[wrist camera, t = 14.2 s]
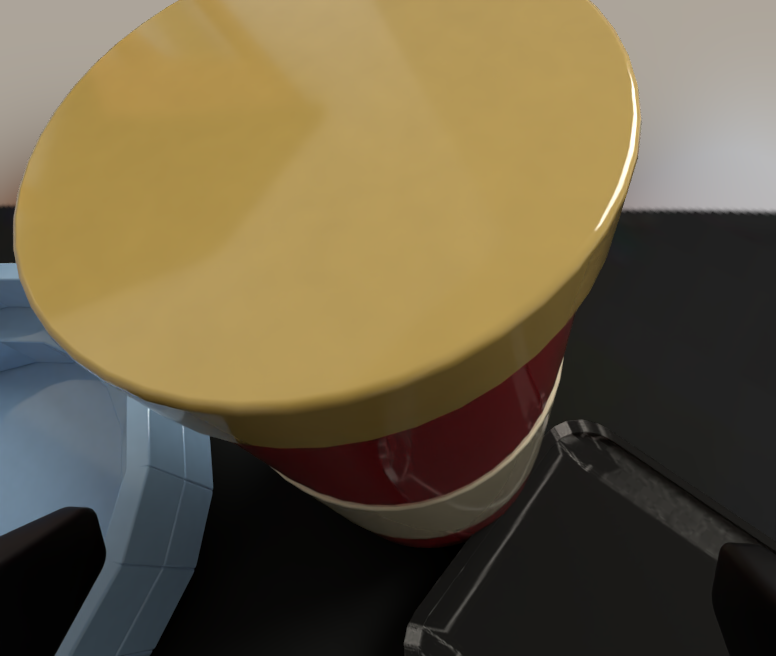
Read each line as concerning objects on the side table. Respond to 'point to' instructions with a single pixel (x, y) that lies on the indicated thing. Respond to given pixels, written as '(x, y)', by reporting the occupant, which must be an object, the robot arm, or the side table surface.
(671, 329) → the side table surface
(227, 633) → the side table surface
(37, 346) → the bowl
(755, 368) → the side table surface
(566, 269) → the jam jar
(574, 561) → the phone
